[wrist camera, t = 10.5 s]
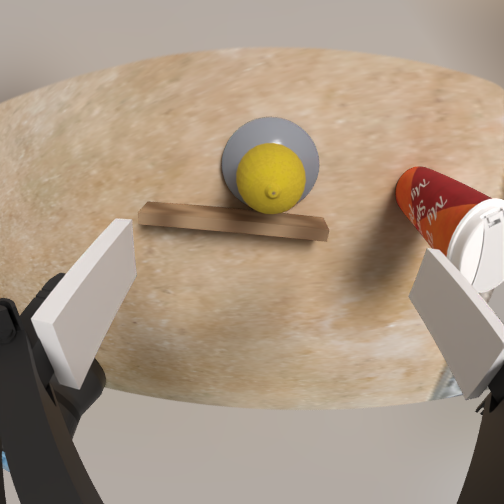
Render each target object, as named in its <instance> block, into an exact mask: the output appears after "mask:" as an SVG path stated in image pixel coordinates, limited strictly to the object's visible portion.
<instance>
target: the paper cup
mask: <svg viewBox="0 0 504 504" xmlns="http://www.w3.org/2000/svg"><path fill="white" fill-rule="evenodd" d="M396 200H397V203H398V205H399V207H400V209H401V210H402V211H403V213H404V214H405V215H406V216H407V218H408V219H409V220H410V221H411V222H412V224H413V225H414V226H415V227H416V229H417V230H418V231H419V232H420V234H421V235H422V236H423V237H424V239H425V240H426V241H427V242H428V244H429V245H430V246H431V248H432V249H438V250H440V251H441V252H442V253H443V254H444V255H445V256H446V257H447V258H448V260H449V261H450V262H451V263H452V264H453V265H454V266H455V267H456V268H457V269H458V270H459V272H460V273H461V274H462V275H463V276H464V277H465V278H466V279H467V281H468V282H469V283H470V284H471V285H472V286H473V288H474V289H475V290H476V291H477V292H478V293H483V292H486V291H489V290H491V289H493V288H495V287H496V286H498V285H499V284H501V283H502V282H503V281H504V200H502V199H496V198H494V199H492V198H490V197H488V196H487V195H485V194H483V193H481V192H479V191H477V190H475V189H473V188H471V187H469V186H467V185H465V184H463V183H461V182H458V181H456V180H454V179H452V178H450V177H448V176H445V175H443V174H441V173H439V172H436V171H434V170H431V169H429V168H426V167H413V168H411V169H409V170H407V171H406V172H405V173H404V174H403V175H402V176H401V177H400V179H399V181H398V183H397V186H396Z"/></svg>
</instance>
